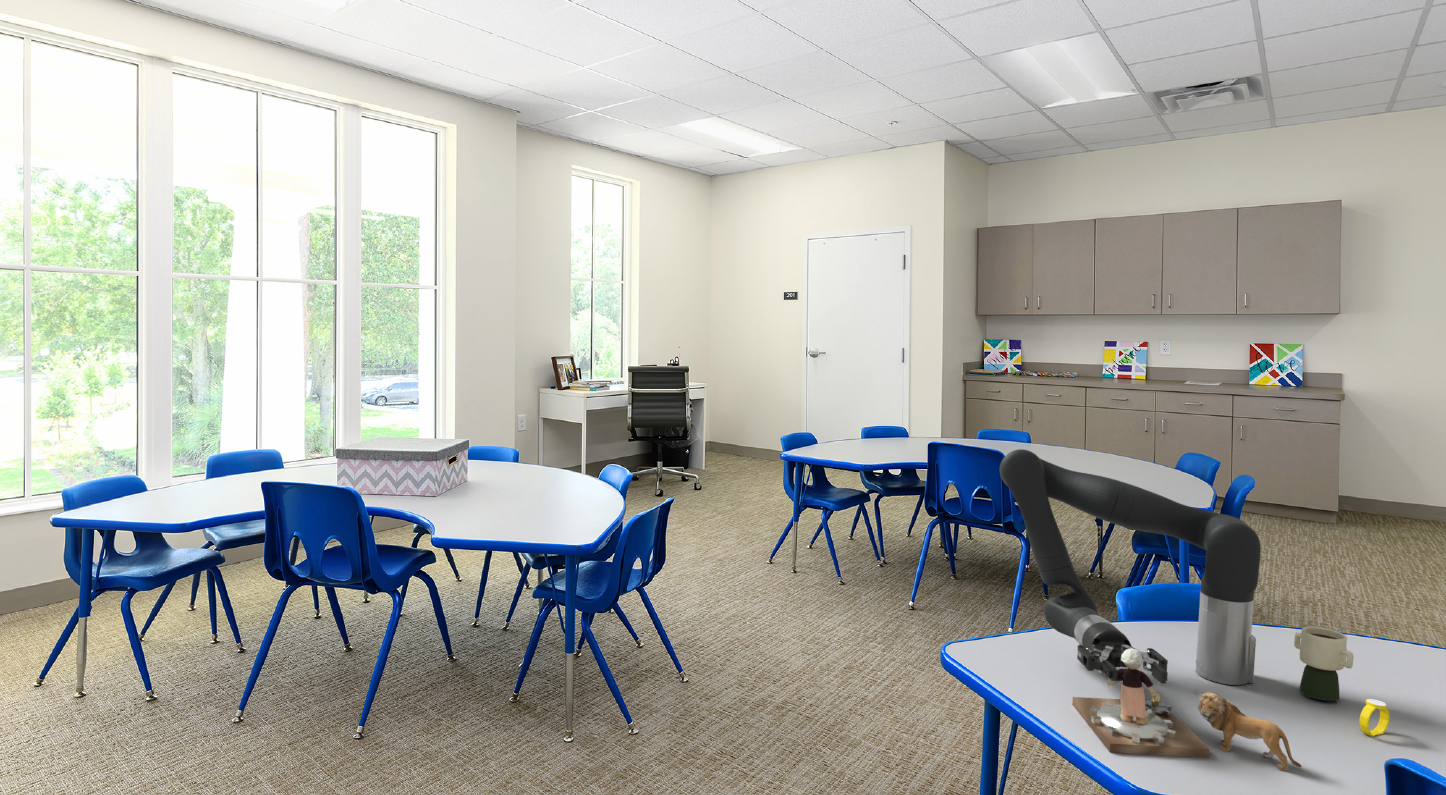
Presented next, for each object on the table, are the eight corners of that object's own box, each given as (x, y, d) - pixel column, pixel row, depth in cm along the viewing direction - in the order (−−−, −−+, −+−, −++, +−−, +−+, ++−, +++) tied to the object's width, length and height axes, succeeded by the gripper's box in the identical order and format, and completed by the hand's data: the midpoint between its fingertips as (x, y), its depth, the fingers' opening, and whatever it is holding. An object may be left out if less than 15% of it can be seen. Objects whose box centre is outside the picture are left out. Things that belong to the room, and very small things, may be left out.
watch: (1374, 729, 139) (1378, 697, 138) (1392, 736, 136) (1396, 704, 136) (1353, 732, 137) (1357, 699, 136) (1370, 740, 134) (1374, 706, 134)
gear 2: (1163, 704, 143) (1164, 689, 143) (1177, 718, 138) (1178, 702, 138) (1133, 703, 144) (1133, 687, 143) (1145, 716, 139) (1146, 700, 138)
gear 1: (1153, 709, 141) (1153, 704, 141) (1190, 746, 128) (1190, 740, 128) (1078, 705, 142) (1078, 700, 142) (1107, 742, 129) (1107, 736, 129)
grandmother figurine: (1153, 717, 136) (1154, 647, 135) (1157, 727, 132) (1158, 656, 131) (1105, 710, 139) (1106, 642, 138) (1107, 720, 135) (1108, 650, 134)
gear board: (1159, 708, 145) (1160, 701, 145) (1208, 757, 128) (1209, 749, 128) (1072, 704, 146) (1072, 696, 146) (1109, 752, 129) (1110, 743, 129)
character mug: (1362, 708, 146) (1367, 641, 145) (1335, 712, 144) (1340, 645, 143) (1304, 683, 157) (1309, 621, 156) (1278, 687, 155) (1283, 624, 154)
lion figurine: (1194, 746, 131) (1197, 695, 131) (1197, 734, 136) (1200, 685, 135) (1301, 777, 123) (1305, 722, 122) (1301, 762, 127) (1305, 710, 126)
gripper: (1064, 620, 149) (1098, 654, 133) (1140, 623, 148) (1184, 658, 132) (1062, 657, 150) (1095, 696, 134) (1138, 660, 149) (1181, 700, 132)
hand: (1139, 677), depth 133 cm, fingers open, 7 cm apart
